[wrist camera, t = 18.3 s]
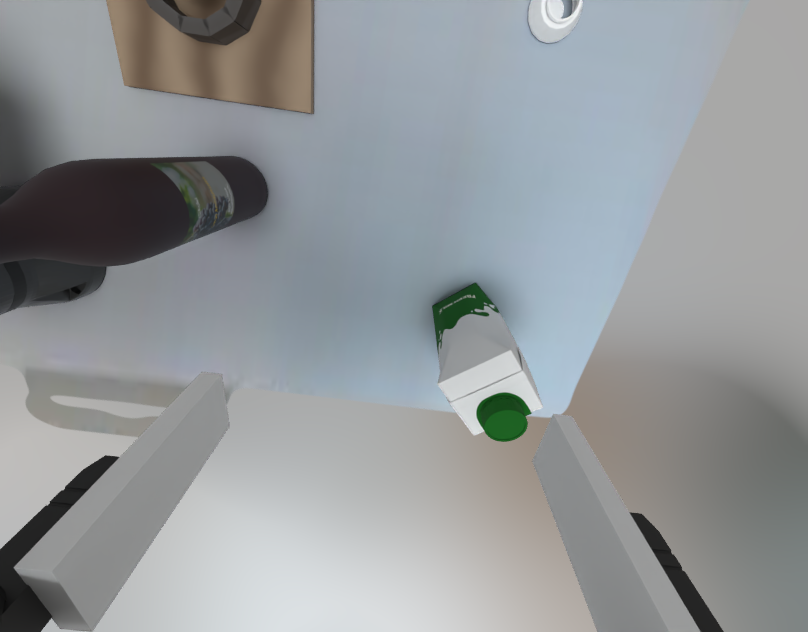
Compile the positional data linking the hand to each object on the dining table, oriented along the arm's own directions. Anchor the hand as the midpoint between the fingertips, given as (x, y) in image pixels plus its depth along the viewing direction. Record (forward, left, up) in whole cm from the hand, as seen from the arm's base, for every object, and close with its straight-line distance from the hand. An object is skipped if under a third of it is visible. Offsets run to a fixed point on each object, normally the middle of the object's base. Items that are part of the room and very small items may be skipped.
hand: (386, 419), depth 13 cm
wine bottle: (-21, +3, -33) cm, 39 cm away
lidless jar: (+12, +24, -33) cm, 42 cm away
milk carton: (+10, -10, -33) cm, 36 cm away
